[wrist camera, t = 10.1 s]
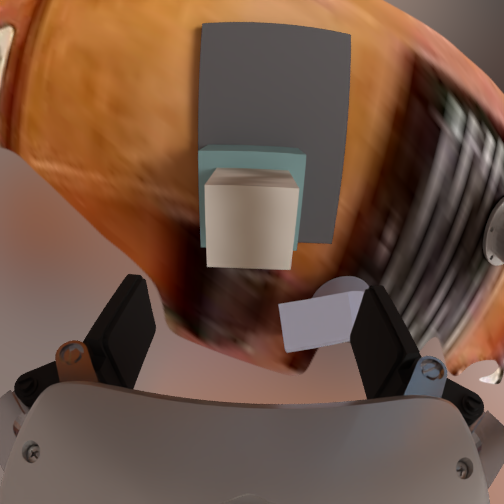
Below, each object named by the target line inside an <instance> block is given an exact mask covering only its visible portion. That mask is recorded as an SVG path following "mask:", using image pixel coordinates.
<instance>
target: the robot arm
mask: <svg viewBox="0 0 504 504" xmlns="http://www.w3.org/2000/svg"><path fill="white" fill-rule="evenodd" d="M483 252H484V256H485V258H486V259H487V261H488V262H490V263H491V264H492V265H495V266H498V265H502V264H504V197H503V198H502V199H501V200H500V201H499V202H498V203H497V204H496V206H495V207H494V209H493V210H492V212H491V214H490V216H489V219H488V221H487V224H486V227H485V231H484V236H483ZM155 331H156V325H155V321H154V317H153V312H152V308H151V303H150V299H149V294H148V289H147V284H146V280H145V279H142V276H141V275H133V274H128V275H127V276H126V277H125V279H124V280H123V282H122V283H121V284H120V286H119V287H118V289H117V290H116V292H115V293H114V295H113V296H112V298H111V299H110V301H109V302H108V303H107V305H106V307H105V308H104V309H103V311H102V312H101V314H100V316H99V317H98V319H97V320H96V322H95V323H94V325H93V326H92V328H91V330H90V331H89V333H88V335H87V336H86V338H85V339H84V341H83V342H80V341H75V340H73V341H69V342H66V343H64V344H63V345H61V346H60V347H59V349H58V350H57V352H56V355H55V360H56V361H54V362H51V363H49V364H46V365H44V366H41V367H39V368H37V369H34V370H32V371H29V372H27V373H25V374H23V375H21V376H20V377H19V378H18V379H17V381H16V383H15V386H14V389H15V390H14V391H13V392H12V391H11V390H10V391H8V392H7V393H6V394H4V395H3V396H2V397H1V398H0V465H1V467H2V469H3V470H4V474H3V478H2V482H1V486H0V504H490V500H489V494H488V488H489V487H490V485H491V484H492V482H493V481H494V479H495V477H496V476H497V474H498V472H499V471H500V469H501V467H502V465H503V464H504V426H503V425H502V424H501V423H500V422H499V421H498V420H497V419H496V418H495V417H494V416H493V415H492V414H491V413H489V411H486V412H484V404H483V401H482V399H481V398H480V397H479V395H477V394H476V393H474V392H472V391H470V390H469V389H467V388H465V387H463V386H461V385H459V384H457V383H455V382H453V381H452V380H450V379H448V378H447V369H446V366H445V365H444V363H443V362H442V361H441V360H439V359H437V358H436V357H433V356H424V357H421V355H420V353H419V350H418V348H417V346H416V344H415V342H414V340H413V338H412V336H411V334H410V332H409V331H408V329H407V327H406V325H405V323H404V321H403V320H402V318H401V316H400V314H399V312H398V311H397V309H396V307H395V305H394V303H393V302H392V300H391V298H390V297H389V295H388V293H387V291H386V290H385V288H384V287H383V286H369V288H368V289H366V290H365V291H364V294H363V298H362V301H361V304H360V307H359V310H358V313H357V316H356V319H355V322H354V325H353V328H352V331H351V334H350V343H351V346H352V349H353V352H354V355H355V359H356V362H357V365H358V369H359V372H360V376H361V379H362V382H363V386H364V389H365V393H366V397H367V400H357V401H347V402H334V403H317V404H248V403H231V402H218V401H207V400H198V399H189V398H181V397H175V396H168V395H161V394H156V393H150V392H144V391H139V390H134V389H133V388H134V385H135V383H136V380H137V378H138V375H139V372H140V370H141V367H142V364H143V362H144V359H145V357H146V354H147V352H148V349H149V347H150V344H151V342H152V339H153V337H154V334H155Z"/></svg>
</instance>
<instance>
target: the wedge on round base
mask: <svg viewBox="0 0 504 504" xmlns="http://www.w3.org/2000/svg"><path fill="white" fill-rule="evenodd" d="M368 288H369V286H368V285H367V283H366V282H365V281H363V280H362V279H360V278H357V277H353V276H343V277H338V278H335V279H332V280H330V281H328V282H326V283H325V284H323V285H322V286H321V287H320V288H319V289H318V290H317V291H316V292H315V293H314V295H313V297H312V298H311V299H306V300H300V301H294V302H288V303H282V304H278V306H279V312H280V319H281V326H282V333H283V340H284V346H285V350H286V352H287V353H288V352H294V351H300V350H306V349H312V348H318V347H323V346H328V345H333V344H339V343H343V342H348V341H350V334H351V331H352V328H353V325H354V322H355V319H356V316H357V313H358V310H359V307H360V304H361V301H362V298H363V294H364V291H365V290H366V289H368Z"/></svg>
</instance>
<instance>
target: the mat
mask: <svg viewBox="0 0 504 504" xmlns="http://www.w3.org/2000/svg"><path fill="white" fill-rule="evenodd" d="M350 63H351V35H350V34H346V33H341V32H336V31H331V30H325V29H319V28H312V27H305V26H297V25H287V24H276V23H257V22H222V23H203V24H202V36H201V53H200V74H199V108H198V151H199V150H200V149H202V148H204V147H205V146H207V145H254V146H275V147H290V148H298V149H299V150H301V151H302V152H303V153H305V154H306V166H305V177H304V188H303V198H302V208H301V217H300V226H299V235H298V242H305V243H327V244H332V239H333V233H334V227H335V221H336V215H337V208H338V201H339V194H340V187H341V179H342V171H343V163H344V154H345V144H346V133H347V121H348V107H349V90H350Z"/></svg>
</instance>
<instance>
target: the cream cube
mask: <svg viewBox="0 0 504 504" xmlns="http://www.w3.org/2000/svg"><path fill="white" fill-rule="evenodd" d="M298 198H299V187H298V185H297V184H296V182H295V180H294V179H293V177H292V175H291V174H290V172H289V170H273V169H251V168H216V170H215V171H214V172H213V174H212V175H211V177H210V178H209V179H208V181H207V182H206V184H205V225H206V252H207V267H227V268H252V269H280V270H290V269H291V261H292V253H293V244H294V236H295V227H296V217H297V208H298Z"/></svg>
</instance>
